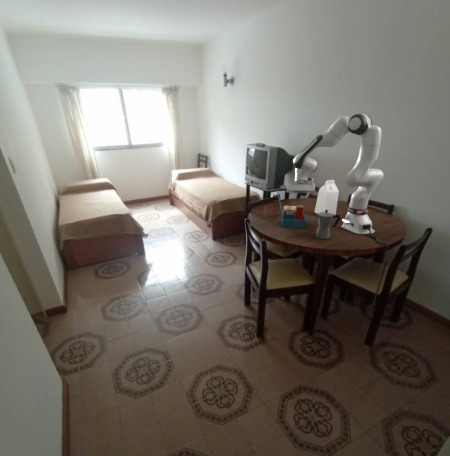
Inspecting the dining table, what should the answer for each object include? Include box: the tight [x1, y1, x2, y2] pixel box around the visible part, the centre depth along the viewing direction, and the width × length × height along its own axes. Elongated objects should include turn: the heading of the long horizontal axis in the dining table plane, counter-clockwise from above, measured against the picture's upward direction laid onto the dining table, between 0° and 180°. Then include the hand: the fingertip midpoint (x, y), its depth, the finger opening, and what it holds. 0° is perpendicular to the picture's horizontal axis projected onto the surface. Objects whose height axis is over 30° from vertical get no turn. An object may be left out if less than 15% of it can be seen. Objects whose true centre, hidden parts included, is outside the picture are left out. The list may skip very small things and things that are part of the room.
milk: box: [314, 179, 340, 215], centre depth 216 cm, size 12×12×26 cm
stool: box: [283, 205, 297, 214], centre depth 212 cm, size 10×10×8 cm
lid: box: [271, 190, 284, 220], centre depth 195 cm, size 17×13×5 cm
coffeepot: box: [314, 210, 341, 240], centre depth 175 cm, size 15×9×18 cm, turn 68°
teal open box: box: [281, 213, 307, 228], centre depth 199 cm, size 17×13×6 cm
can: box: [295, 204, 305, 220], centre depth 196 cm, size 6×6×13 cm
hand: (300, 197), depth 201 cm, fingers open, 8 cm apart
